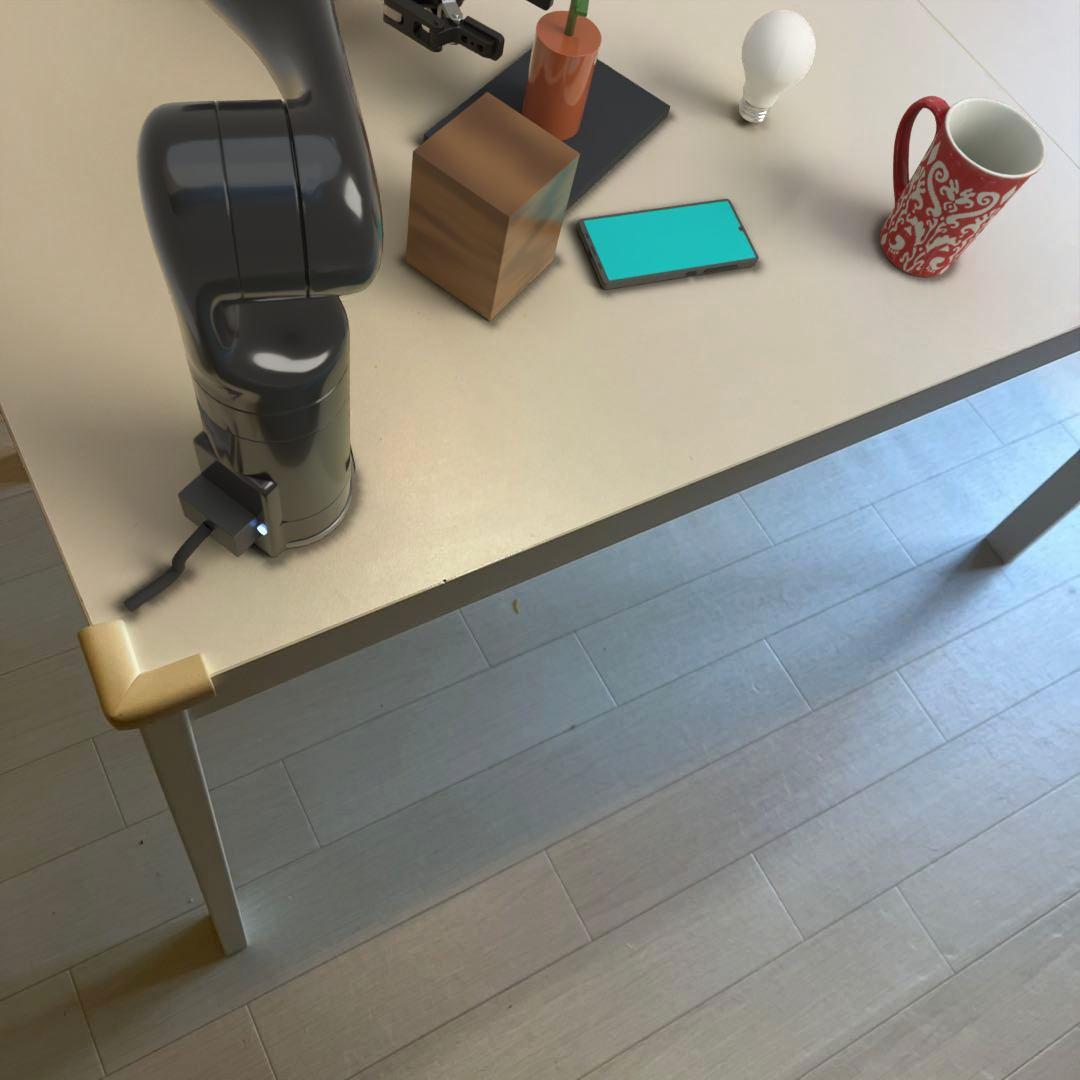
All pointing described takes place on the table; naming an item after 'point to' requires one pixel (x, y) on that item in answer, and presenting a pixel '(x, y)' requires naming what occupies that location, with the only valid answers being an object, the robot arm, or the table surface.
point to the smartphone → (666, 243)
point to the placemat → (586, 118)
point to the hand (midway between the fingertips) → (527, 23)
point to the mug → (956, 180)
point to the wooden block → (487, 204)
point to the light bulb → (774, 60)
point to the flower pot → (561, 70)
